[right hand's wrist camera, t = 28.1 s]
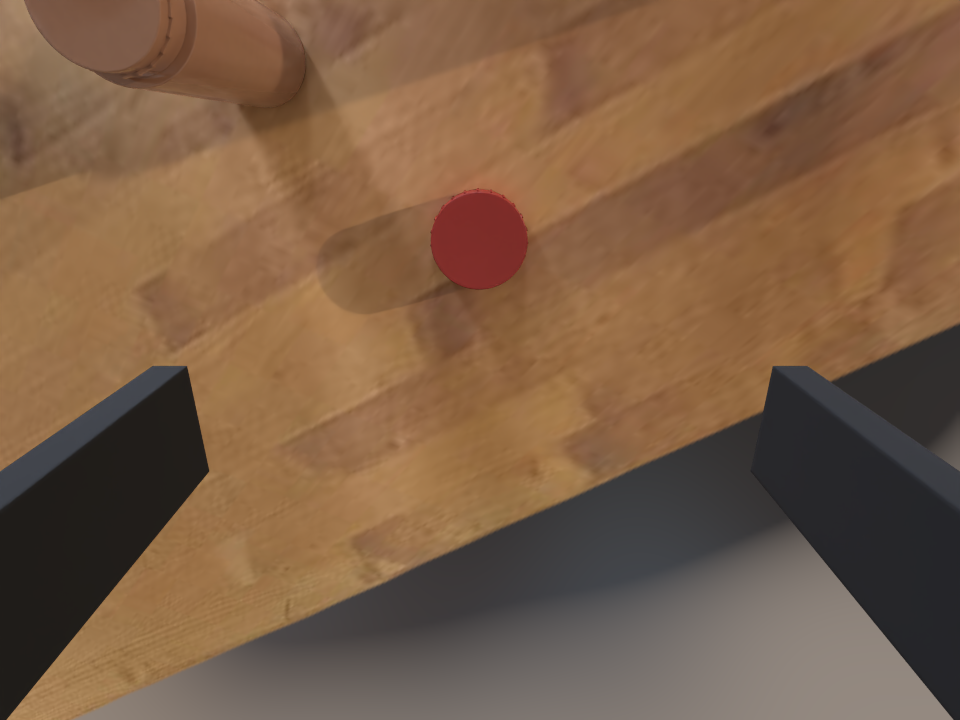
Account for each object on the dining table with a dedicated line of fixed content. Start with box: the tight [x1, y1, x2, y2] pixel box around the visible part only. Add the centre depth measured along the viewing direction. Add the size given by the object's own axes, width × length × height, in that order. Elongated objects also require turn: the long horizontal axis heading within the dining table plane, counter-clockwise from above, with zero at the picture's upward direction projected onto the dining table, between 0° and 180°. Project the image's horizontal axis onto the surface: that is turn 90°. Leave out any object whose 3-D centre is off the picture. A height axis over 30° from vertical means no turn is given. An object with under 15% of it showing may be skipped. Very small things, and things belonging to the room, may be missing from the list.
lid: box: [431, 188, 528, 289], centre depth 36 cm, size 6×6×2 cm
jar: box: [24, 0, 306, 108], centre depth 26 cm, size 5×5×16 cm
